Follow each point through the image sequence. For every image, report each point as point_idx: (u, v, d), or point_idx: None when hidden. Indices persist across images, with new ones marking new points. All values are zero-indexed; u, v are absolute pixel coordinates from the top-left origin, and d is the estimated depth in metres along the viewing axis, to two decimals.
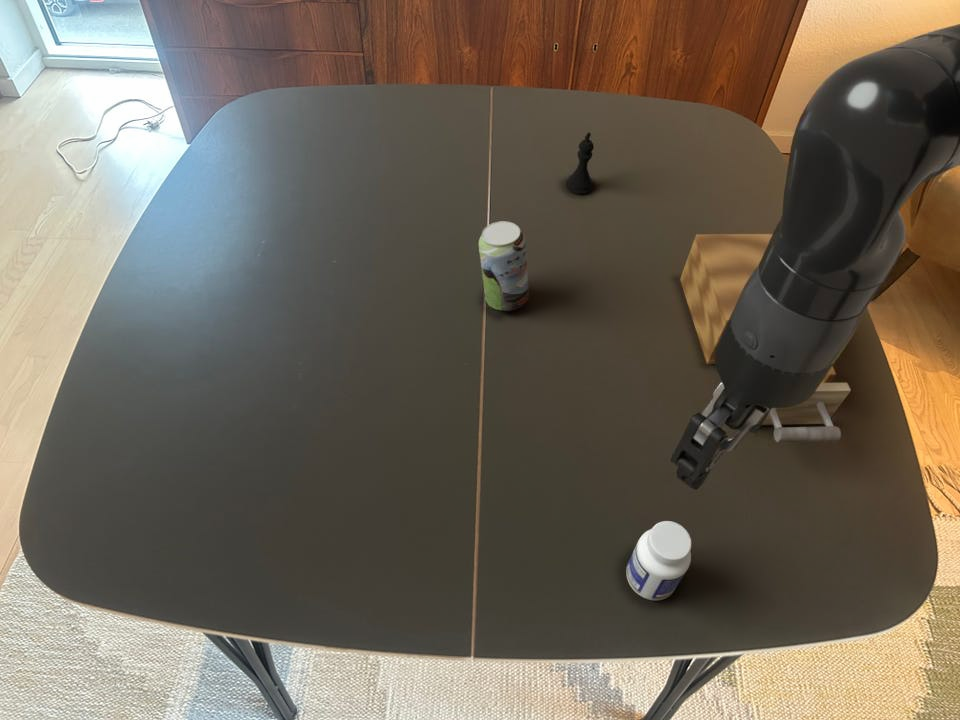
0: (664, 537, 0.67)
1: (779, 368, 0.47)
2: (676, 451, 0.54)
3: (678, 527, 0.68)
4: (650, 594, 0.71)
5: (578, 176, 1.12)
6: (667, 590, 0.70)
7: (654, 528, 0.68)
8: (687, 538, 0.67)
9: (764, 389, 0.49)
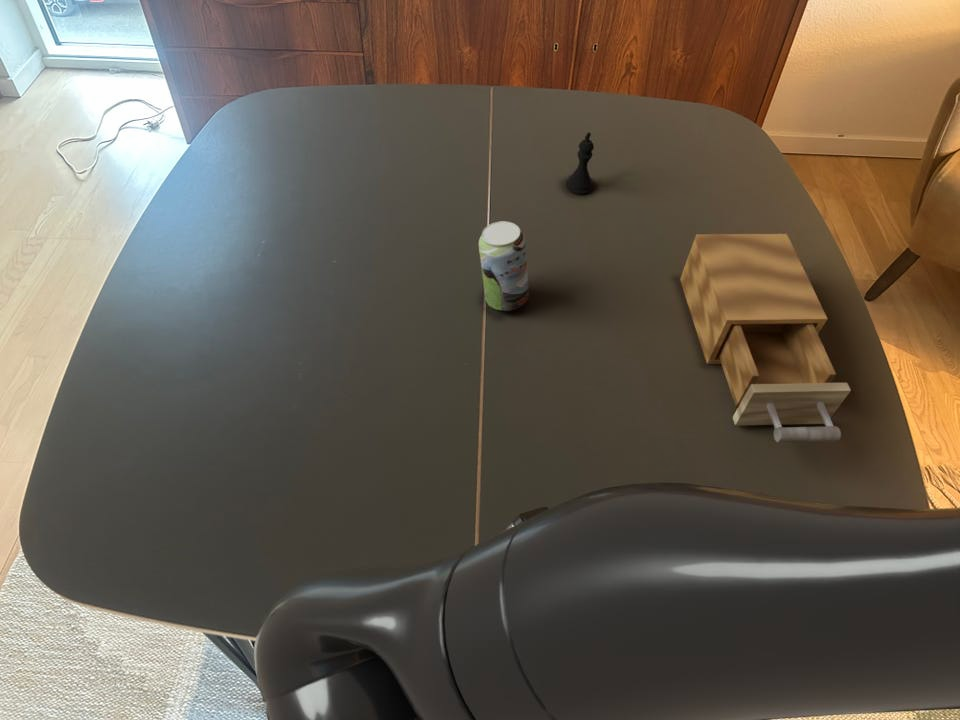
0: None
1: None
2: None
3: None
4: None
5: (578, 176, 1.12)
6: None
7: None
8: None
9: None
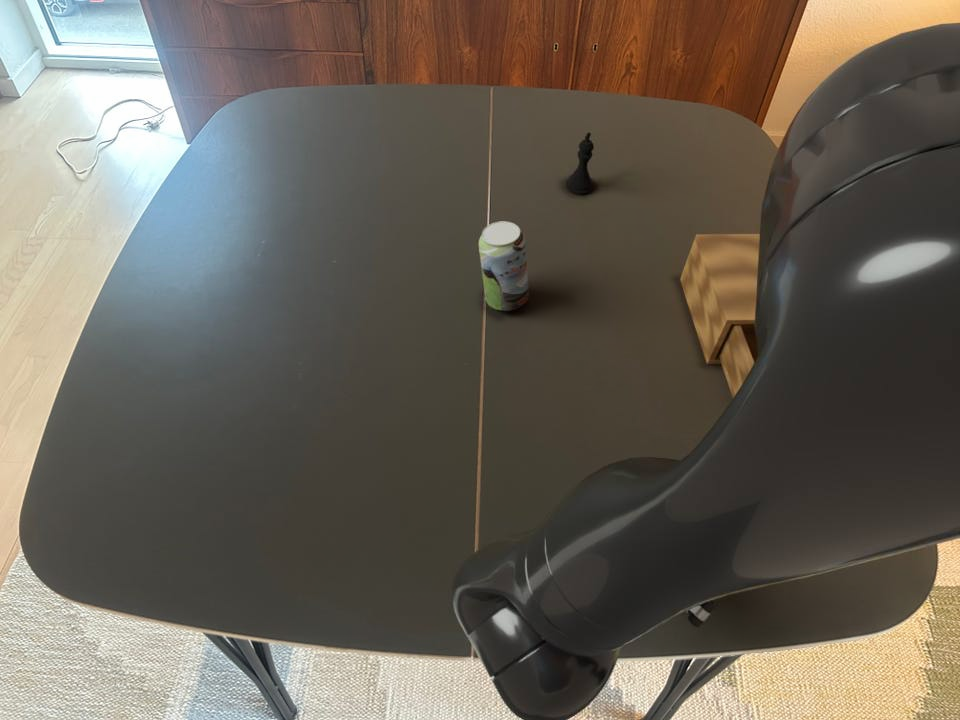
0: None
1: None
2: None
3: None
4: None
5: (578, 176, 1.12)
6: None
7: None
8: None
9: None
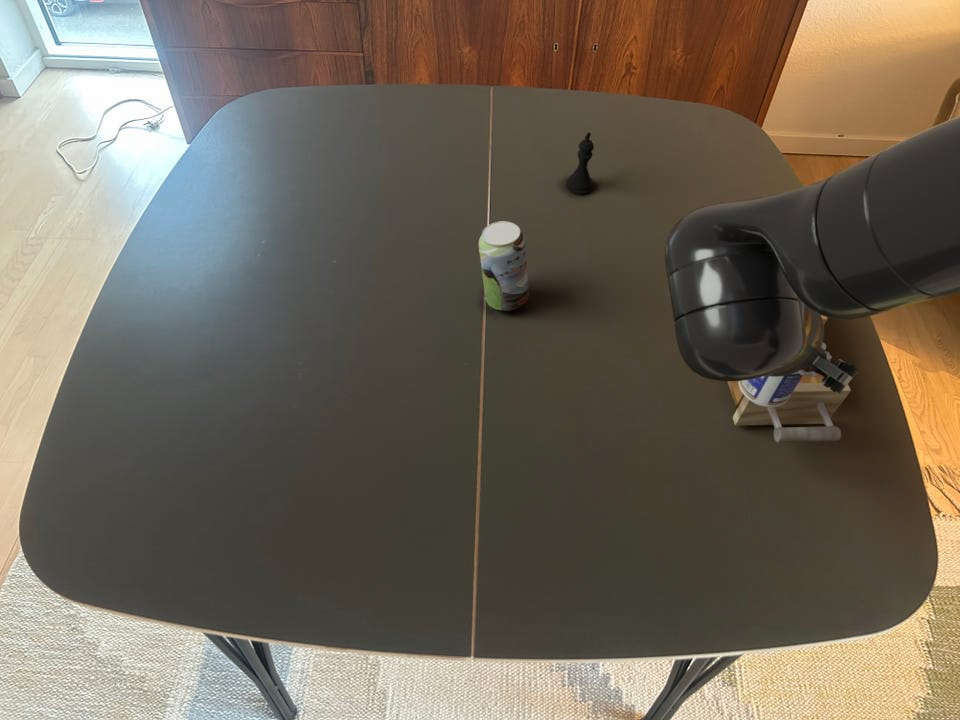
0: None
1: (819, 334, 0.55)
2: None
3: None
4: (767, 398, 0.71)
5: (578, 176, 1.12)
6: (786, 392, 0.70)
7: None
8: None
9: (821, 339, 0.57)
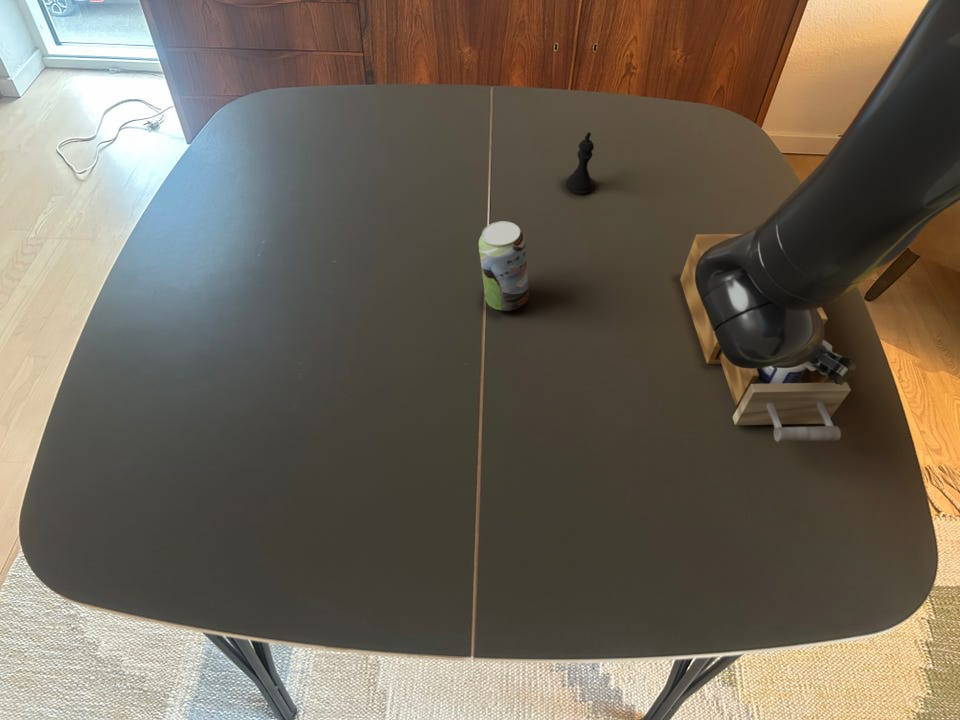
0: None
1: (820, 333, 0.68)
2: (841, 383, 0.76)
3: None
4: None
5: (578, 176, 1.12)
6: None
7: None
8: None
9: (821, 337, 0.70)
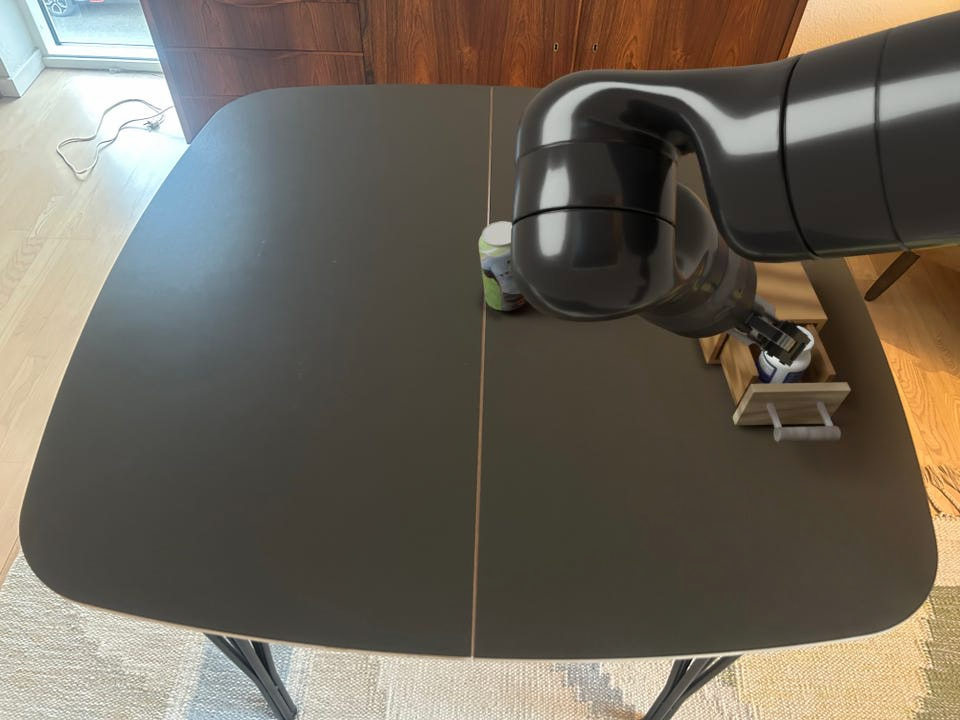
0: None
1: (745, 280, 0.43)
2: (788, 363, 0.51)
3: (801, 329, 0.82)
4: None
5: None
6: None
7: None
8: (810, 336, 0.82)
9: (751, 289, 0.46)
